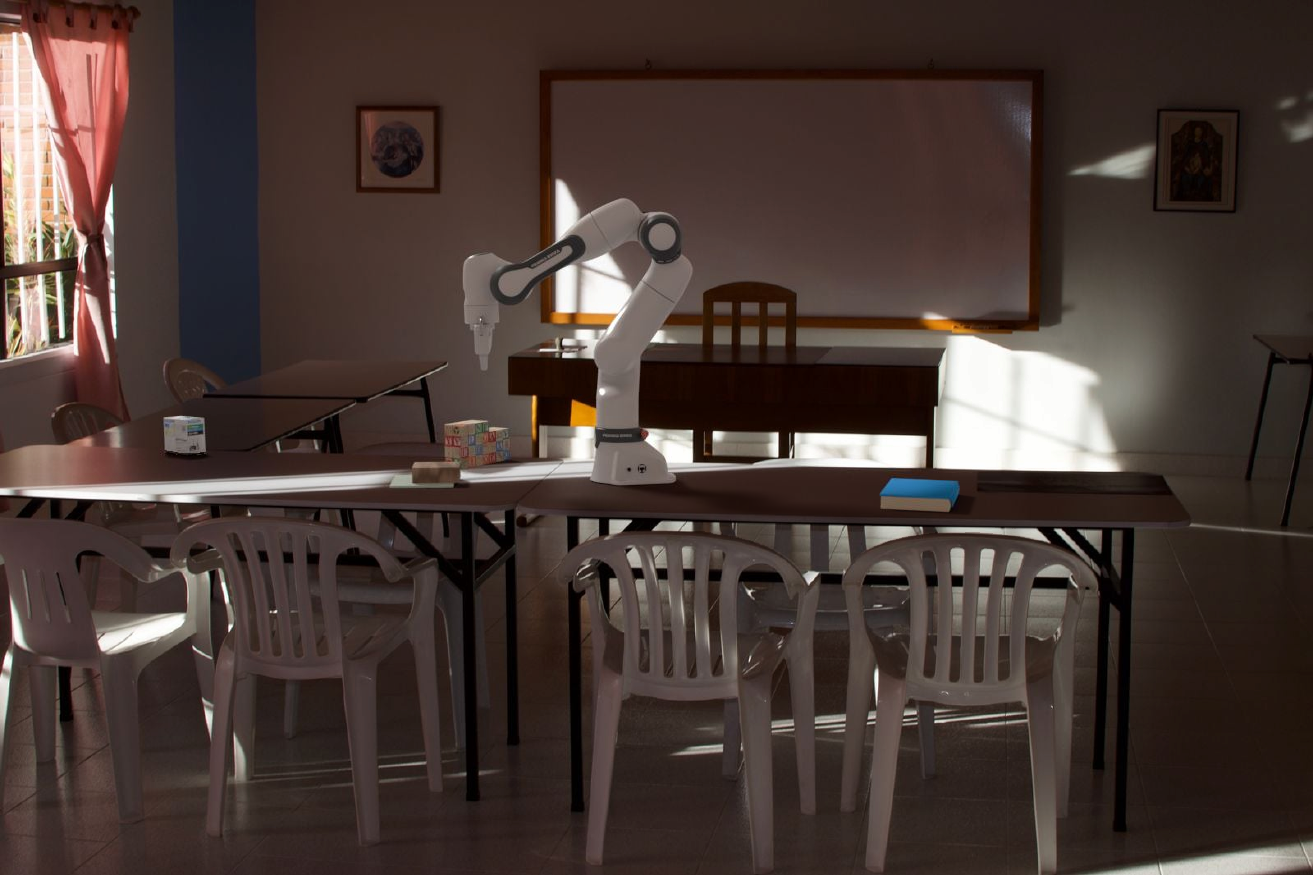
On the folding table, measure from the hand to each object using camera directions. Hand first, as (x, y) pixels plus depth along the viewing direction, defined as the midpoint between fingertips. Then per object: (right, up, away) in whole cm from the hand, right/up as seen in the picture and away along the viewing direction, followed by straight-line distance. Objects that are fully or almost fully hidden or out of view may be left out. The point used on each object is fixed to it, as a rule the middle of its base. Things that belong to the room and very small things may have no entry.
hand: (484, 369), depth 379 cm
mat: (-16, -29, +2) cm, 33 cm away
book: (+109, -34, -24) cm, 116 cm away
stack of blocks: (-6, -25, +36) cm, 45 cm away
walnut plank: (-7, -27, +3) cm, 27 cm away
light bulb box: (-95, -23, +54) cm, 111 cm away
